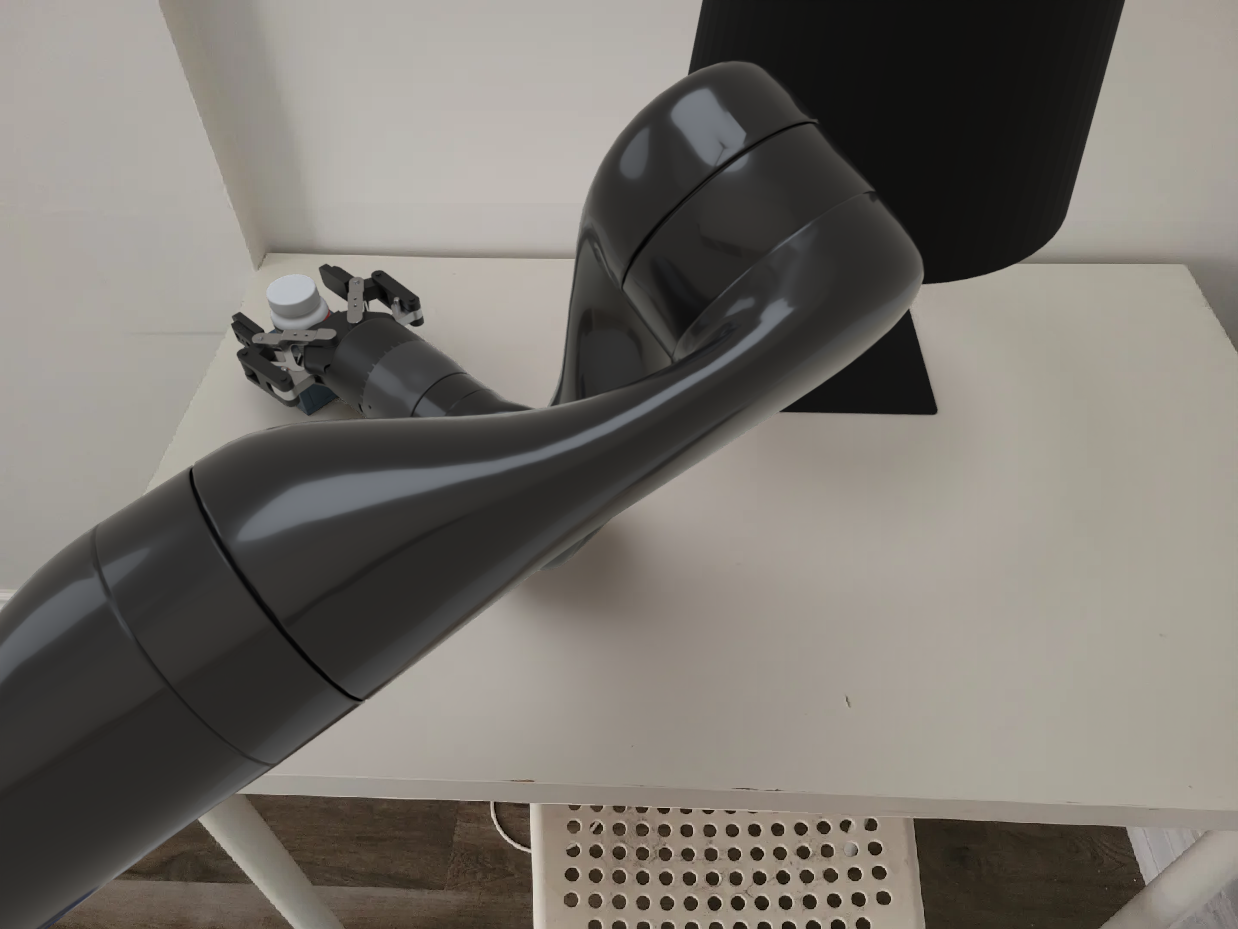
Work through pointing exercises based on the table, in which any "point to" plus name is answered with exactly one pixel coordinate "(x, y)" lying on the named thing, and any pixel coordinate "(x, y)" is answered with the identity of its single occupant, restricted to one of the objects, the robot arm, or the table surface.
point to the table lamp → (934, 132)
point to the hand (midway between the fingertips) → (282, 297)
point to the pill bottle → (296, 304)
